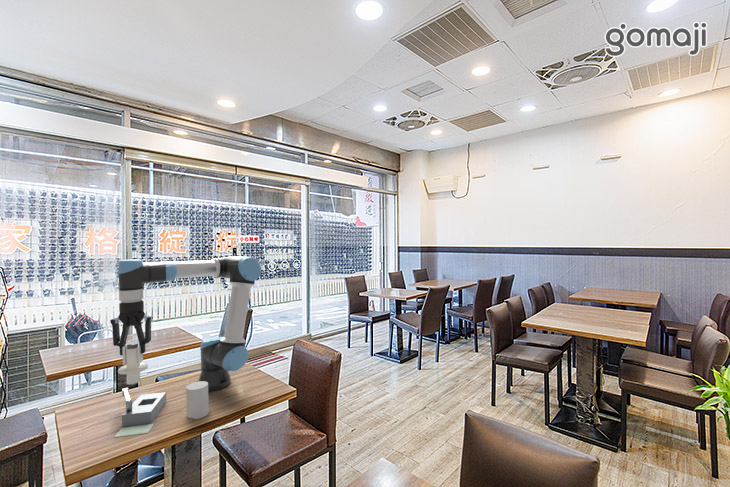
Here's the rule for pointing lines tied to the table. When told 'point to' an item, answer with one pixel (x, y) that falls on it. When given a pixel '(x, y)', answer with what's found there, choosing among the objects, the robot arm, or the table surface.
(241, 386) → the table surface
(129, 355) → the plug
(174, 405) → the table surface
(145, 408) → the socket block
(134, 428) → the mat
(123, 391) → the record player tonearm
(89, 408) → the table surface
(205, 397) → the cup
